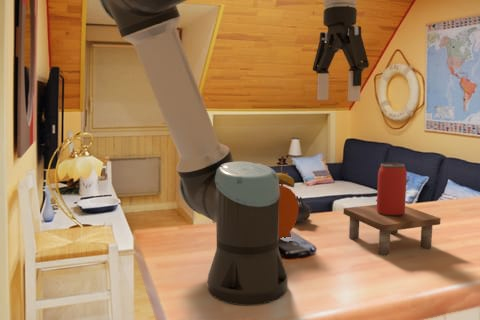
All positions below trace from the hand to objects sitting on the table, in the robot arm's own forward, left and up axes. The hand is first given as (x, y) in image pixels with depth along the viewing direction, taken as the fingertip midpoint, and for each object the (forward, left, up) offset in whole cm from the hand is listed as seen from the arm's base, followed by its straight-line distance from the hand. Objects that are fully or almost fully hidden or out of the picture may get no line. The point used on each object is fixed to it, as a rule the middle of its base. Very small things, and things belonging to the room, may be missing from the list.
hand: (337, 100), depth 110 cm
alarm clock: (-15, +5, -35) cm, 38 cm away
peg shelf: (+12, -6, -35) cm, 37 cm away
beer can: (+12, -6, -27) cm, 31 cm away
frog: (-1, +19, -35) cm, 40 cm away
